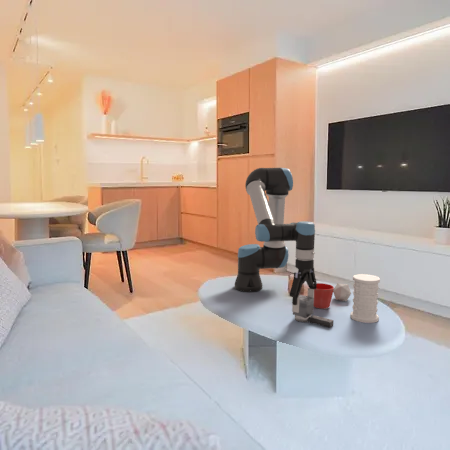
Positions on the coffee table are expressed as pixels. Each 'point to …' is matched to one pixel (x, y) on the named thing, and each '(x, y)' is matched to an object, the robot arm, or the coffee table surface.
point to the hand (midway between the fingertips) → (303, 307)
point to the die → (342, 292)
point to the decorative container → (365, 298)
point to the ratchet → (315, 320)
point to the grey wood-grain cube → (305, 306)
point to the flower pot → (323, 295)
